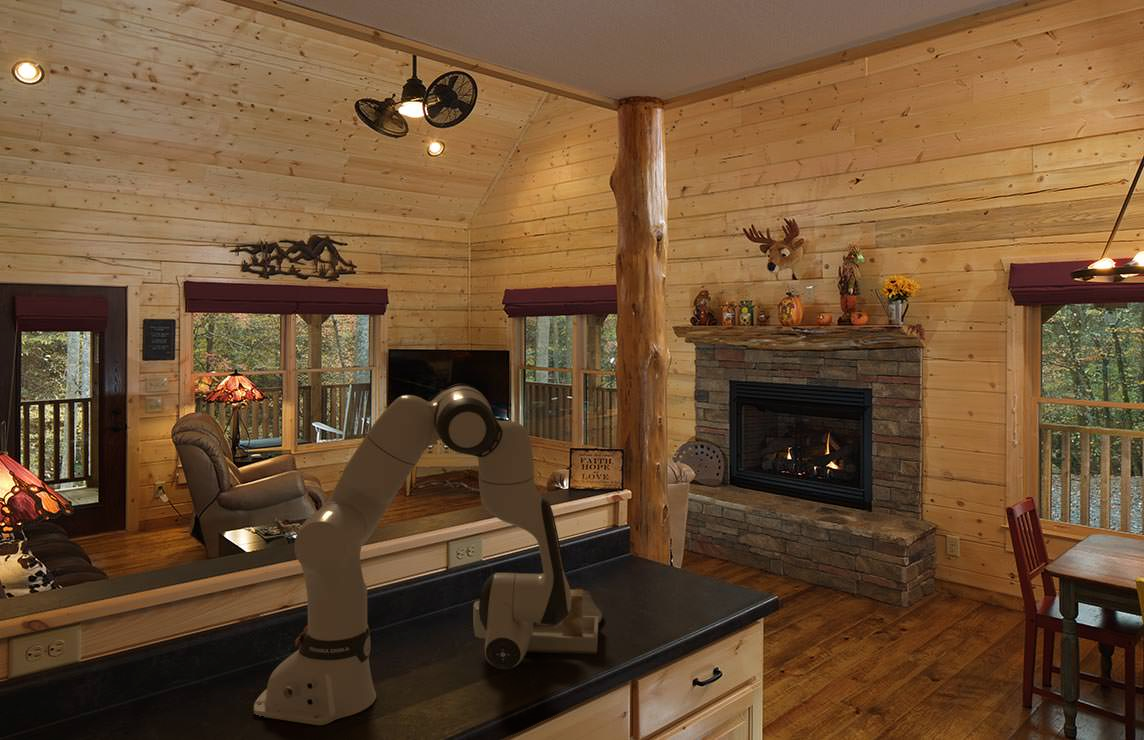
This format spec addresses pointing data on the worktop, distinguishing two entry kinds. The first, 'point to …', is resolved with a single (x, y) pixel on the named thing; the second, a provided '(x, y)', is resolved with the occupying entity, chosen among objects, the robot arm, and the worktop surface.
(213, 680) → the worktop surface
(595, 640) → the beige tray
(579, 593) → the birch block
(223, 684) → the worktop surface
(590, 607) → the stone tool
